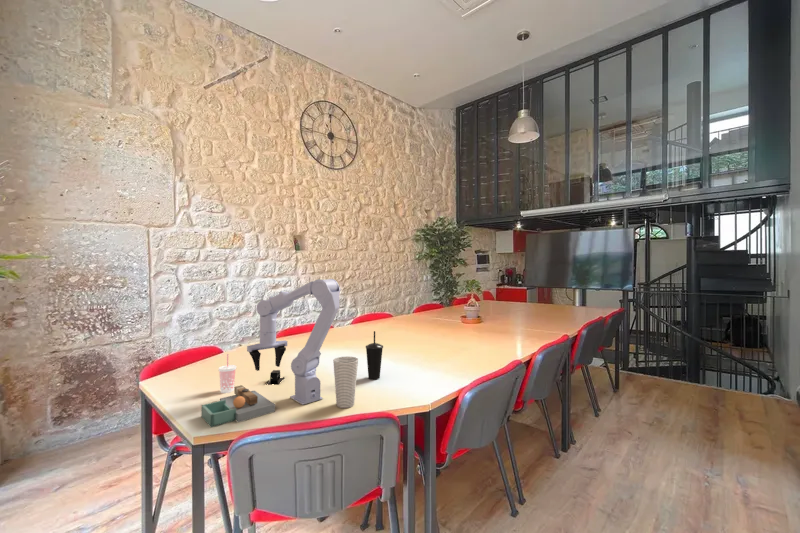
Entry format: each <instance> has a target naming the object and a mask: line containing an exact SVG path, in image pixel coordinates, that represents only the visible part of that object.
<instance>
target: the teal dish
mask: <svg viewBox="0 0 800 533" xmlns="http://www.w3.org/2000/svg"><path fill="white" fill-rule="evenodd" d="M200 410H201V414H200V415H201V418H202V419H203V420H204V421H205V422H206V423H207V425H208V426H209V427H210V428H213V427H216V426H221V425H224V424H227V423H231V422H234V421H236V408H234V409H231V408H230V407H229V406H228V405H227V404H226V400H221V401H220V400H218V401H214V402H210V403H209V402H208V403H205V404H201V409H200Z"/></svg>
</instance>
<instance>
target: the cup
mask: <svg viewBox="0 0 800 533" xmlns="http://www.w3.org/2000/svg"><path fill="white" fill-rule="evenodd" d="M358 364H359V358H357V357H355V356H340V357H339V356H338V357H335V358H334V359H333V375H334V387H335V388H334V389H335V400H336V401H335V402H336V406H337V408H339V409H340V408H341V409H347V408H351V407H353V406H354V405H355V400H356V398H355V397H356V390H357V389H356V386H357V377H358V366H359V365H358Z"/></svg>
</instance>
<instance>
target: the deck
mask: <svg viewBox="0 0 800 533" xmlns="http://www.w3.org/2000/svg"><path fill="white" fill-rule="evenodd" d="M250 391H251V392H252V393H254V394H255V395H256V396H258V403H256V404H252V405H249V404H248V403H247V402H245V404H244V406H243V407H241V408H236V407H235V406H234V405H233V401H234V399H235V398H236V397H238V396H237V395H236V394H234V395H229V396H225V397H221V398H219V401H221V400H226V404H227V405H228V406H229V407H230V408H231V409H234V408H236V420H235V421H236V422H237V423H240V422H243V421H247V420H248V421H249V420H251V419H255V418H258V417H261V416H264V415H269V414H271V413H274V412H276V403H274V402H273V401H271V400H270V399H268V398H267V397H265V396H264V395H262V394H261V393H259V392H258V391H256V390H250Z"/></svg>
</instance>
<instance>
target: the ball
mask: <svg viewBox="0 0 800 533" xmlns="http://www.w3.org/2000/svg"><path fill="white" fill-rule="evenodd" d="M244 404H245V398H244V397H242V396H238V397H236V398H235V399H234V401H233V405H234V406H235V407H236V408H241V407H243V406H244Z"/></svg>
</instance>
